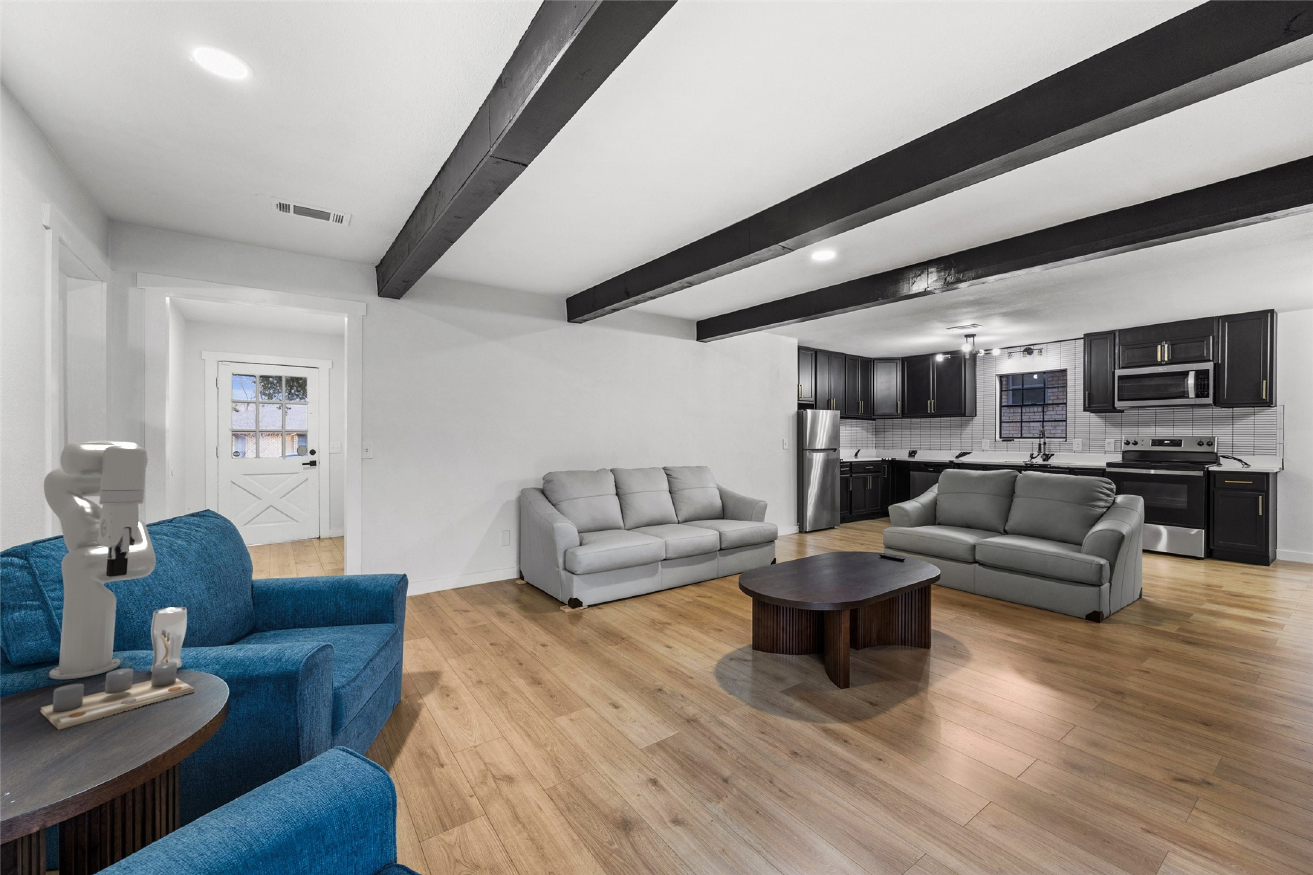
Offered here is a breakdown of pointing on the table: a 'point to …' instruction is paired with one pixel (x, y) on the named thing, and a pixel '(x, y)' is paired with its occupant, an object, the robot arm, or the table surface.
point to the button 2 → (164, 674)
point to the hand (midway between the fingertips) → (116, 575)
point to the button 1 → (68, 697)
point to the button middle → (119, 681)
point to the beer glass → (168, 635)
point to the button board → (114, 703)
